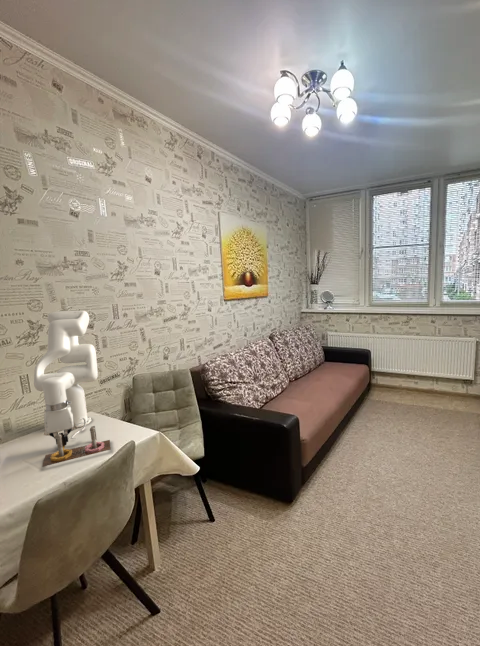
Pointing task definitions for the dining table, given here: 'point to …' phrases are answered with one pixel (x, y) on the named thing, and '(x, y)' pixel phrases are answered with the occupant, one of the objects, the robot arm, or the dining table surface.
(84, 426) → the hook
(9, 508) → the dining table surface
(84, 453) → the peg rack
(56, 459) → the brass ring
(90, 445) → the pink ring
